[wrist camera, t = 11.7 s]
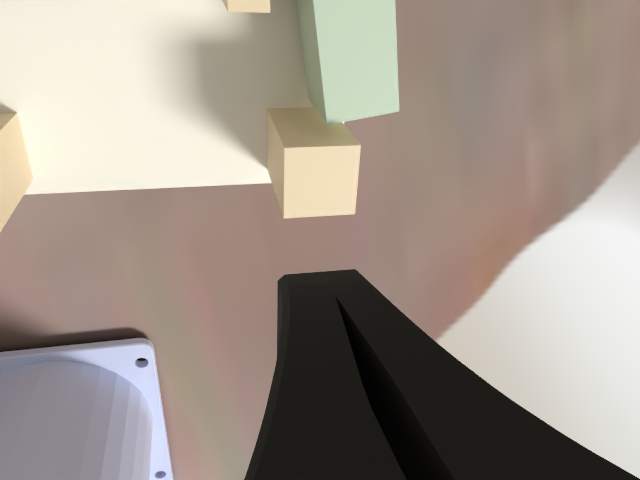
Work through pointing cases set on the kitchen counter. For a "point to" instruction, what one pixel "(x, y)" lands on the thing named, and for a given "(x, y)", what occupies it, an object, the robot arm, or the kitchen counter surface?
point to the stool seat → (165, 102)
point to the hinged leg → (350, 57)
